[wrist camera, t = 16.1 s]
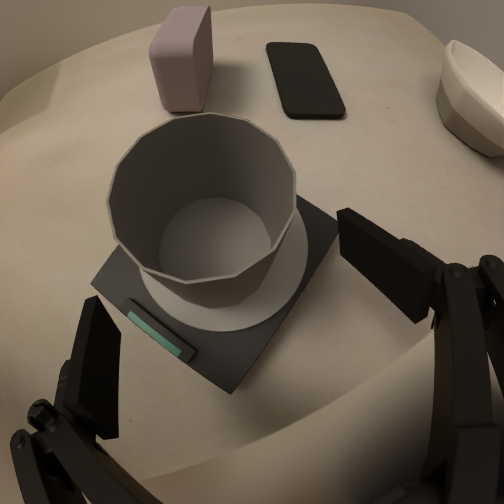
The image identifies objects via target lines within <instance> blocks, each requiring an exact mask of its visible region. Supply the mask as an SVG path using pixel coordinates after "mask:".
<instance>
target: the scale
mask: <svg viewBox="0 0 504 504" xmlns="http://www.w3.org/2000/svg"><path fill="white" fill-rule="evenodd" d="M338 233H339V232H338V221H337V220H335V219H334V218H332V217H331V216H329V215H328V214H326V213H325V212H323V211H322V210H320V209H319V208H317V207H316V206H314V205H313V204H311V203H310V202H308V201H306V200H305V199H303V198H302V197H300V196H299V195H297V194H296V213H295V215H294V218H293V220H292V222H291V224H290V226H289V229H288V231H287V233H286V235H285V237H284V240H283V242H282V244H281V246H280V248H279V250H278V253H277V255H276V257H275V259H274V261H273V263H272V265H271V268H270V269H269V271H268V273H267V275H266V277H265V278H264V280H263V282H262V284H261V286H260V287H259V289H258V290H257V291H256V292H254V293H253V294H252V295H250V296H249V297H247V298H246V299H244V300H243V301H241V302H240V303H238V304H237V305H233V306H227V307H220V308H213V309H208V308H205V307H202V306H199V305H196V304H193V303H190V302H187V301H184V300H183V299H181V298H180V297H178V296H177V295H176V294H174V293H173V292H172V291H170V290H169V289H167V288H166V287H165V286H163V285H162V284H161V283H159V282H158V281H156V280H155V279H154V278H152V277H151V276H150V275H148V274H147V273H146V272H144V271H143V270H142V269H141V268H140V267H139V266H138V265H137V264H136V263H135V262H134V261H133V260H132V258H131V257H130V256H129V255H128V254H127V253H126V252H125V251H124V250H123V248H122V247H121V246H120V245H118V246H117V247H116V249H115V250H114V251H113V253H112V254H111V255H110V257H109V258H108V259H107V261H106V262H105V264H104V265H103V266H102V268H101V269H100V271H99V272H98V273H97V275H96V276H95V278H94V279H93V280H92V282H91V285H92V286H93V287H94V288H95V289H96V290H98V291H99V292H100V293H101V294H102V295H103V296H104V297H105V298H106V299H107V300H108V301H109V302H111V303H112V304H113V305H114V306H115V307H116V308H117V309H118V310H120V311H121V312H122V313H123V314H124V315H125V316H126V317H128V318H129V319H130V320H131V321H132V322H133V323H135V324H136V325H137V326H138V327H139V328H141V329H142V330H143V331H144V332H145V333H147V334H148V335H149V336H150V337H152V338H153V339H154V340H155V341H157V342H158V343H159V344H160V345H162V346H163V347H164V348H165V349H167V350H168V351H169V352H171V353H172V354H173V355H175V356H176V357H177V358H179V359H180V360H181V361H183V362H184V363H185V364H187V365H188V366H189V367H191V368H192V369H194V370H195V371H196V372H198V373H199V374H201V375H202V376H203V377H205V378H206V379H208V380H209V381H211V382H212V383H214V384H215V385H217V386H218V387H219V388H221V389H222V390H224V391H226V392H227V393H229V394H230V395H231V394H232V393H233V391H234V390H235V389H236V387H237V386H238V385H239V383H240V382H241V380H242V379H243V378H244V376H245V375H246V374H247V372H248V371H249V369H250V368H251V367H252V365H253V364H254V362H255V361H256V360H257V358H258V357H259V355H260V354H261V352H262V351H263V350H264V348H265V347H266V345H267V344H268V342H269V341H270V339H271V338H272V336H273V335H274V334H275V332H276V331H277V329H278V328H279V326H280V325H281V323H282V322H283V320H284V319H285V317H286V316H287V314H288V313H289V311H290V310H291V308H292V307H293V305H294V304H295V302H296V301H297V299H298V297H299V296H300V294H301V293H302V291H303V290H304V288H305V287H306V285H307V283H308V282H309V280H310V279H311V277H312V276H313V274H314V272H315V271H316V269H317V268H318V266H319V264H320V263H321V261H322V259H323V258H324V256H325V255H326V253H327V251H328V250H329V248H330V246H331V245H332V243H333V241H334V240H335V238H336V236H337V235H338Z"/></svg>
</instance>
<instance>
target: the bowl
mask: <svg viewBox="0 0 504 504" xmlns="http://www.w3.org/2000/svg"><path fill="white" fill-rule="evenodd" d="M437 104H438V108H439V113H440V115H441V118H442V120H443V123H444V125H445V126H446V127H447V128H448V129H449V130H450V131H451V132H453V133H454V134H455V135H456V136H457V137H458V138H460V139H461V140H462V141H463V142H465V143H466V144H467V145H469V146H470V147H471V148H473V149H475V150H477V151H479V152H480V153H482V154H484V155H487V156H489V157H496V156H500V155H504V72H503V71H502V70H500V69H499V68H498V67H497V66H495V65H494V64H493V63H492V62H491V61H489V60H488V59H487V58H486V57H484V56H483V55H481V54H480V53H478V52H477V51H474V50H473V49H472V48H470V47H468V46H466V45H464V44H462V43H460V42H458V41H456V40H452V41H451V42H449V43H448V44H447V45H446V46H445V53H444V60H443V66H442V73H441V78H440V84H439V89H438V94H437Z"/></svg>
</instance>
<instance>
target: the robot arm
mask: <svg viewBox="0 0 504 504" xmlns="http://www.w3.org/2000/svg"><path fill="white" fill-rule="evenodd" d="M337 221H338V232H339V244H340V255H341V256H342V257H343V258H345V259H346V260H347V261H348V262H349V263H350V264H351V265H352V266H354V267H355V268H356V269H357V270H358V271H359V272H360V273H361V274H362V275H363V276H365V277H366V278H367V279H368V280H369V281H370V282H371V283H372V284H373V285H374V286H375V287H377V288H378V289H379V290H380V291H381V292H382V293H383V294H384V295H385V296H386V297H387V298H388V299H389V300H390V301H391V302H392V303H394V304H395V305H396V306H397V307H398V308H399V309H400V310H401V311H402V312H403V313H404V314H405V315H406V316H407V317H408V318H409V319H410V320H411V321H412V322H413V323H414V324H416V323H418V322H420V321H421V320H423V319H424V318H426V317H427V316H428V311H429V307H431V308H432V309H433V310H434V311H435V312H434V316H433V320H432V324H431V329H433V326H434V339H435V340H434V342H435V373H434V397H433V412H432V422H431V431H430V439H429V446H428V453H427V457H426V459H425V462H424V464H423V467H422V470H421V474H420V479H419V482H417V483H412V484H407V485H404V486H403V485H402V483H400V484H398V485H397V486H395V487H393V488H392V489H390V490H388V491H387V492H385V493H383V494H381V495H379V496H378V497H376V498H374V499H372V500H371V501H370V502H368V503H367V504H504V493H497V492H496V491H497V482H498V473H499V459H500V429H499V427H498V425H495V424H493V421H492V399H491V383H490V372H489V363H488V355H489V357H490V360H491V363H492V365H493V368H494V371H495V374H496V377H497V380H498V383H499V386H500V388H501V392H502V395H503V398H504V263H503V261H502V260H501V259H500V258H498V257H496V256H494V255H484V256H482V257H481V258H480V262H479V266H477V267H473V268H469V269H468V268H467V267H466V266H464V265H462V264H458V263H450V264H446V263H444V262H443V261H441V260H440V259H439V258H437V257H436V256H434V255H433V254H431V253H430V252H428V251H426V250H425V249H424V248H422V247H420V246H419V245H418V244H416V243H415V242H413V241H411V240H407V239H404V238H402V239H400V240H399V239H397V238H396V237H394V236H393V235H391V234H390V233H388V232H387V231H385V230H384V229H382V228H381V227H379V226H377V225H376V224H374V223H373V222H371V221H370V220H368V219H366V218H365V217H363V216H362V215H360V214H358V213H357V212H355V211H353V210H352V209H350V208H345V209H342V210H339V211H337ZM494 300H495V302H494ZM495 303H496V304H495ZM120 344H121V332H120V331H119V329H118V328H117V326H116V325H115V323H114V321H113V320H112V318H111V317H110V315H109V314H108V312H107V310H106V309H105V307H104V305H103V304H102V302H101V300H100V299H99V297H98V295H96V296H93V297H91V298H88V299H85V302H84V306H83V309H82V313H81V317H80V321H79V325H78V328H77V333H76V337H75V341H74V345H73V350H72V354H71V359H70V360H66V361H65V363H64V364H63V366H62V368H61V370H60V375H59V380H58V385H57V386H58V388H57V390H56V396H55V402H54V406H52V405H51V404H50V403H49V402H48V401H47V400H46V399H40V400H37V401H36V402H35V403H33V404H32V406H31V407H30V409H29V411H28V415H27V420H28V423H29V424H30V425H32V426H33V427H34V428H35V429H37V430H38V431H37V432H35V433H33V434H29V433H28V432H27V431H26V430H24V429H20V430H17V431H16V432H15V433H14V434H13V436H12V438H11V441H10V449H11V454H12V459H13V463H14V467H15V471H16V475H17V479H18V483H19V486H20V490H21V493H22V497H23V500H24V503H25V504H87V502H86V500H85V498H84V496H83V494H84V495H85V496H86V497H87V498H88V500H89V501H90V502H91V503H92V504H163V503H162V502H160V501H159V500H158V499H157V498H155V497H154V496H153V495H152V494H151V493H150V492H148V491H147V490H146V489H145V488H144V487H143V486H141V485H140V484H139V483H138V482H137V481H136V480H135V479H134V478H133V477H132V476H131V475H129V474H128V473H127V472H126V471H125V470H124V469H123V468H122V467H121V466H120V465H119V464H118V463H117V462H116V461H115V460H114V459H113V458H112V457H111V456H110V455H109V454H108V453H107V452H106V451H105V449H104V448H103V447H102V446H101V445H100V444H98V443H97V442H96V434H97V435H98V436H99V437H101V438H102V439H103V440H108V439H114V438H119V425H118V388H119V360H120ZM487 352H488V355H487ZM81 491H82V492H83V494H82V492H81Z"/></svg>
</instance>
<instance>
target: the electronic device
mask: <svg viewBox="0 0 504 504" xmlns="http://www.w3.org/2000/svg"><path fill="white" fill-rule="evenodd" d="M149 58H150V62H151V66H152V69H153V73H154V77H155V81H156V84H157V88H158V92H159V96H160V99H161V103H162V106H163V107H164V109H166V110H167V111H171V112H201V111H202V109H203V105H204V101H205V96H206V92H207V88H208V84H209V80H210V76H211V72H212V67H213V46H212V27H211V10H210V6H209V5H206V6H184V7H176V8H174V9H173V10H171V11H170V13H169V14H168V16H167V18H166V19H165V21H164V22H163V24H162V26H161V27H160V29H159V31H158V32H157V34H156V36H155V38H154V39H153V41H152V43H151V45H150V47H149Z"/></svg>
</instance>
